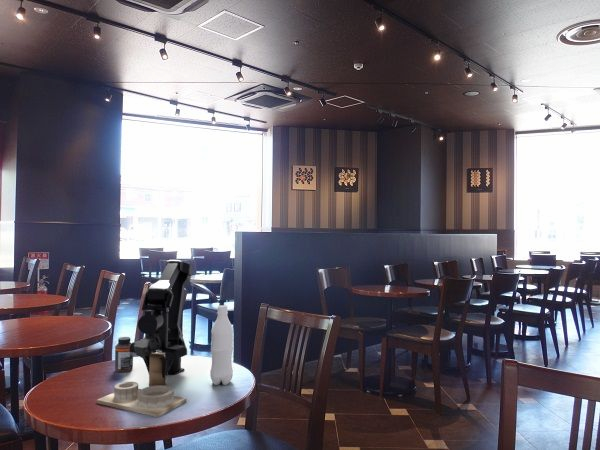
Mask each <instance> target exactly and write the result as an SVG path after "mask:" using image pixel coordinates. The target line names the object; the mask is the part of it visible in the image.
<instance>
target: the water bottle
mask: <svg viewBox="0 0 600 450" xmlns="http://www.w3.org/2000/svg"><path fill="white" fill-rule="evenodd" d="M216 314H217V317H216V320H215V321H214V323H213V326H212V327H211V331H210V333H211V342H210V344H211V345H210V354H211V367H210V372H209V373H210V375H209V376H210V380H211V382H212V384H214V386H219V385H220V383H222V385H223V386H227V385H228V384H229V383H230V382H231V381H232V379H233V372H234V370H233V363H232V360H233V359H232V357H233V350H234V329H233V326H232V323H231V321H230V320H229V317H228V314H229V312H228V305H225V304H224V305H223V304H221V305H220V304H219V305H218V306H217V312H216Z"/></svg>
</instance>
